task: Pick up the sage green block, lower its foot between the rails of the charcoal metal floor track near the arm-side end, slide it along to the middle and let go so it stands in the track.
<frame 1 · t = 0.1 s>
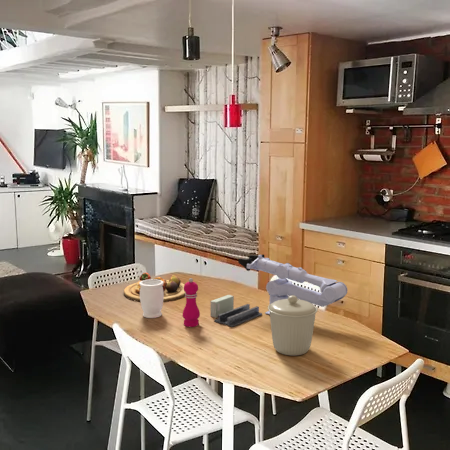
hand: (244, 259, 256), 22 cm above the table, tool horizontal, fingers open, 7 cm apart
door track: (238, 318, 242), on the table
wooden plate with food: (156, 293, 279), on the table
canister: (291, 350, 207), on the table
sage green block: (222, 313, 248), on the table
pepper mill: (191, 324, 234), on the table
jar: (152, 315, 245), on the table
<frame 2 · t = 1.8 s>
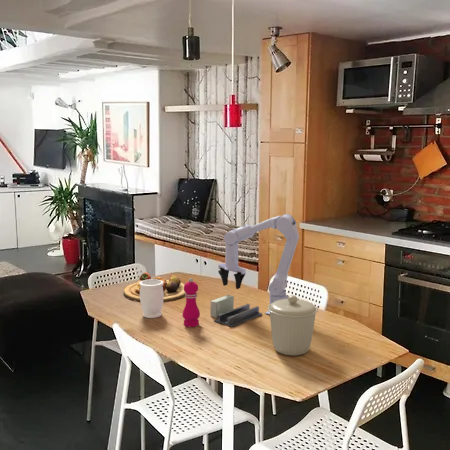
hand: (231, 286, 253), 10 cm above the table, tool pointing down, fingers open, 7 cm apart
nothing on the table moved.
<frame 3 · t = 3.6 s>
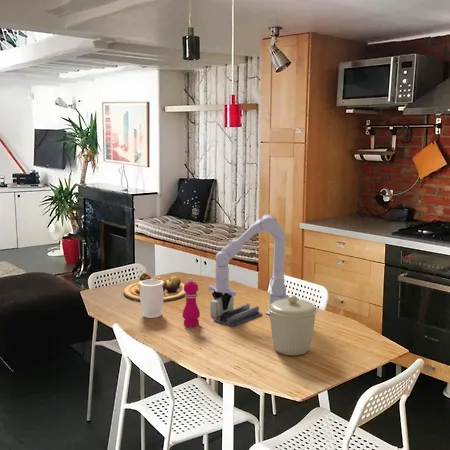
hand: (222, 308, 247), 2 cm above the table, tool pointing down, fingers closed on sage green block, 3 cm apart
sage green block: (222, 313, 248), on the table, touching gripper
everything else where it was.
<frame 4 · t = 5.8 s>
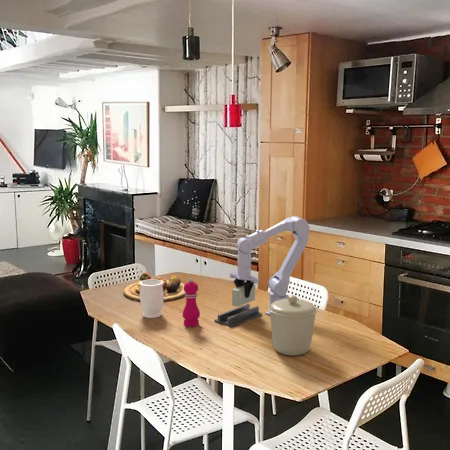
hand: (244, 296, 243), 9 cm above the table, tool pointing down, fingers closed on sage green block, 3 cm apart
sage green block: (243, 302, 243), point 6 cm above the table, touching gripper
everything else where it was.
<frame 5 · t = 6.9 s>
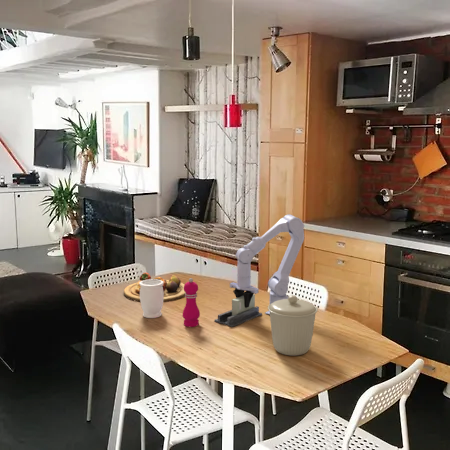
hand: (243, 306, 243), 5 cm above the table, tool pointing down, fingers closed on sage green block, 3 cm apart
sage green block: (243, 312, 244), point 2 cm above the table, touching gripper
everything else where it was.
when the fingers open (4 cm above the table, at t = 7.9 s): sage green block stays where it is, resting on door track.
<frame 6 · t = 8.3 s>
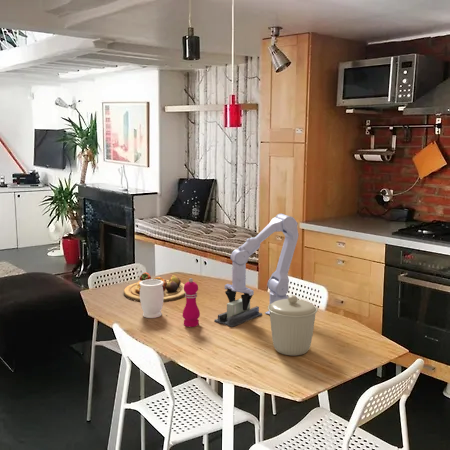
hand: (238, 308, 241), 4 cm above the table, tool pointing down, fingers open, 6 cm apart
sage green block: (238, 316, 241), point 1 cm above the table, touching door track
everything else where it was.
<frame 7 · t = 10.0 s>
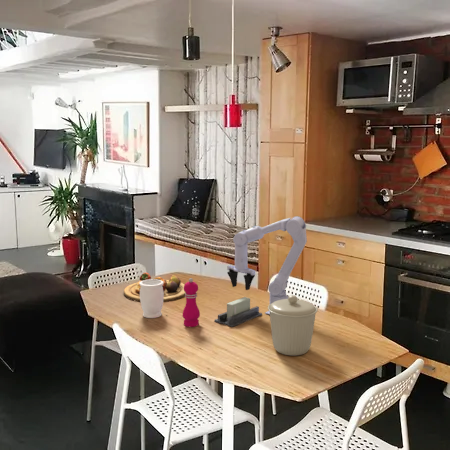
hand: (240, 288, 252), 10 cm above the table, tool pointing down, fingers open, 7 cm apart
nothing on the table moved.
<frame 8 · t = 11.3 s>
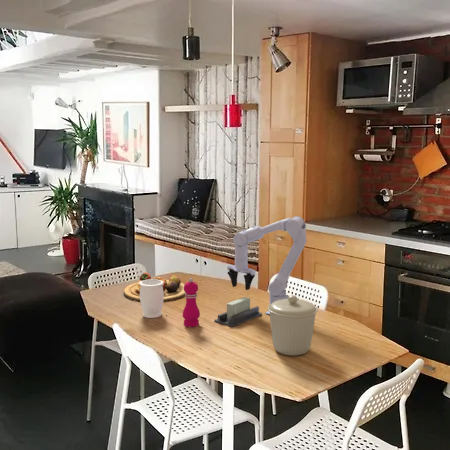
hand: (241, 287, 252), 10 cm above the table, tool pointing down, fingers open, 7 cm apart
nothing on the table moved.
at the end: sage green block 0.1 cm off-centre on the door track, point 0.8 cm above the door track's base; sage green block tilted 0°; the gripper is holding nothing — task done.
